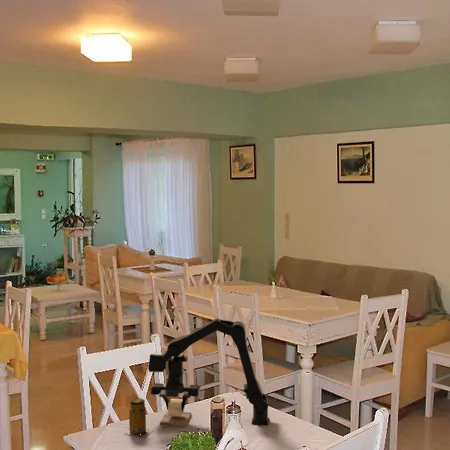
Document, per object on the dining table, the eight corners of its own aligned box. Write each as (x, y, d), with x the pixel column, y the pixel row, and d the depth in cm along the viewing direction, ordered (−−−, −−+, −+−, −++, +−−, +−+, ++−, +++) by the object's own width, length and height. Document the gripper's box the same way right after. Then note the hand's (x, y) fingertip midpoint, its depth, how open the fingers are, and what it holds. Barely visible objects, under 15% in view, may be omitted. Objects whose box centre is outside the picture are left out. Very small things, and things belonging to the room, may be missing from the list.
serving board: (166, 414, 244) (166, 411, 244) (191, 415, 243) (191, 412, 243) (159, 425, 232) (159, 422, 232) (185, 427, 231) (185, 423, 231)
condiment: (134, 427, 231) (134, 396, 231) (154, 430, 228) (154, 399, 227) (124, 434, 225) (124, 402, 224) (144, 437, 221) (144, 405, 221)
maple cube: (171, 411, 240) (170, 398, 240) (183, 411, 240) (183, 399, 239) (168, 415, 235) (168, 403, 235) (180, 416, 235) (180, 403, 234)
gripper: (146, 377, 230) (147, 417, 231) (195, 379, 227) (195, 420, 228) (154, 368, 241) (154, 407, 242) (200, 370, 238) (200, 409, 239)
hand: (175, 411), depth 237 cm, fingers closed on maple cube, 5 cm apart
